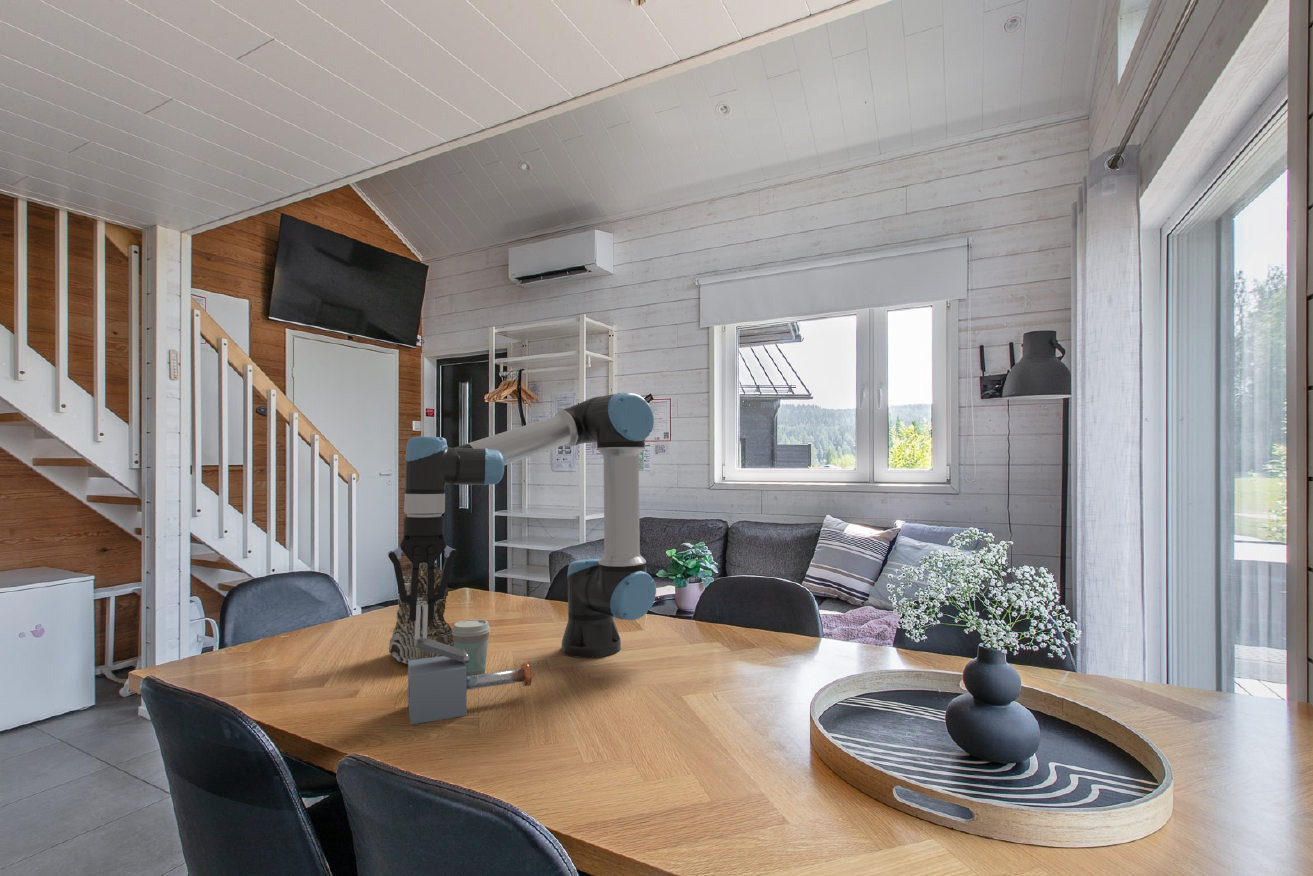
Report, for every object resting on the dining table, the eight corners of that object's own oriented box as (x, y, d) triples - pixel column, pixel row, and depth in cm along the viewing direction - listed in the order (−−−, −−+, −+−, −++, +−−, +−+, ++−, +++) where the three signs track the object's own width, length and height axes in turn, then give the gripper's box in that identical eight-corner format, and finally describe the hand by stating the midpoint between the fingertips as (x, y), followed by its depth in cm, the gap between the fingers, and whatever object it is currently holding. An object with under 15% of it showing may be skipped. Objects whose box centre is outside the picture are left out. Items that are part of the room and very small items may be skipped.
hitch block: (460, 698, 133) (460, 654, 133) (466, 715, 124) (466, 668, 124) (408, 706, 129) (408, 660, 129) (410, 724, 120) (410, 675, 120)
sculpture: (376, 658, 162) (376, 557, 163) (427, 645, 172) (427, 551, 173) (418, 674, 149) (418, 565, 150) (470, 659, 159) (470, 557, 160)
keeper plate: (463, 655, 132) (466, 649, 132) (468, 664, 126) (470, 658, 126) (413, 639, 128) (416, 633, 129) (415, 647, 122) (418, 641, 123)
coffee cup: (480, 684, 142) (479, 628, 142) (444, 681, 143) (444, 627, 144) (497, 671, 150) (497, 619, 150) (463, 669, 152) (463, 617, 152)
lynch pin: (526, 681, 136) (526, 659, 136) (531, 688, 132) (531, 665, 132) (451, 693, 130) (451, 670, 130) (454, 700, 126) (454, 676, 126)
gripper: (458, 513, 133) (455, 629, 132) (386, 514, 128) (382, 635, 127) (462, 516, 126) (459, 638, 125) (387, 517, 121) (382, 645, 120)
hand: (420, 637), depth 126 cm, fingers closed
